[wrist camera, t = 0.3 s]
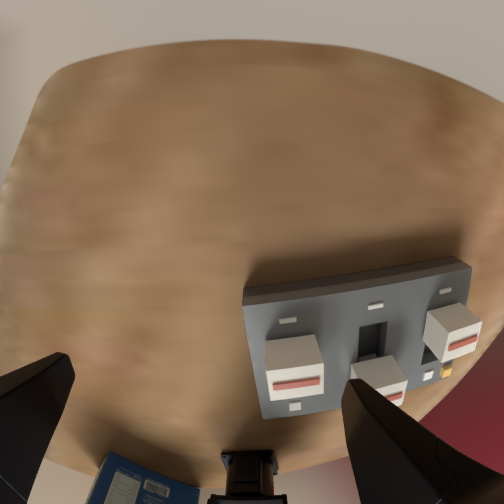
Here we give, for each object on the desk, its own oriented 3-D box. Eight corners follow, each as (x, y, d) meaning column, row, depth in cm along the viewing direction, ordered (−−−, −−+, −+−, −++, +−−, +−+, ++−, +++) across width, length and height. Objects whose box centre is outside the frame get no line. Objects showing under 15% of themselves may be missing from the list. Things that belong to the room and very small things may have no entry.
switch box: (435, 361, 25) (450, 380, 22) (262, 397, 26) (262, 424, 22) (453, 256, 22) (476, 269, 18) (243, 288, 23) (241, 310, 19)
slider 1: (312, 353, 22) (324, 395, 17) (268, 359, 22) (270, 402, 17) (311, 324, 21) (324, 365, 16) (263, 330, 21) (265, 372, 17)
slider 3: (446, 322, 21) (475, 351, 17) (415, 331, 22) (442, 364, 17) (451, 295, 21) (484, 322, 16) (419, 303, 21) (450, 334, 16)
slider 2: (382, 369, 23) (402, 406, 18) (345, 378, 23) (360, 418, 18) (385, 345, 22) (408, 381, 17) (346, 353, 22) (364, 393, 17)
